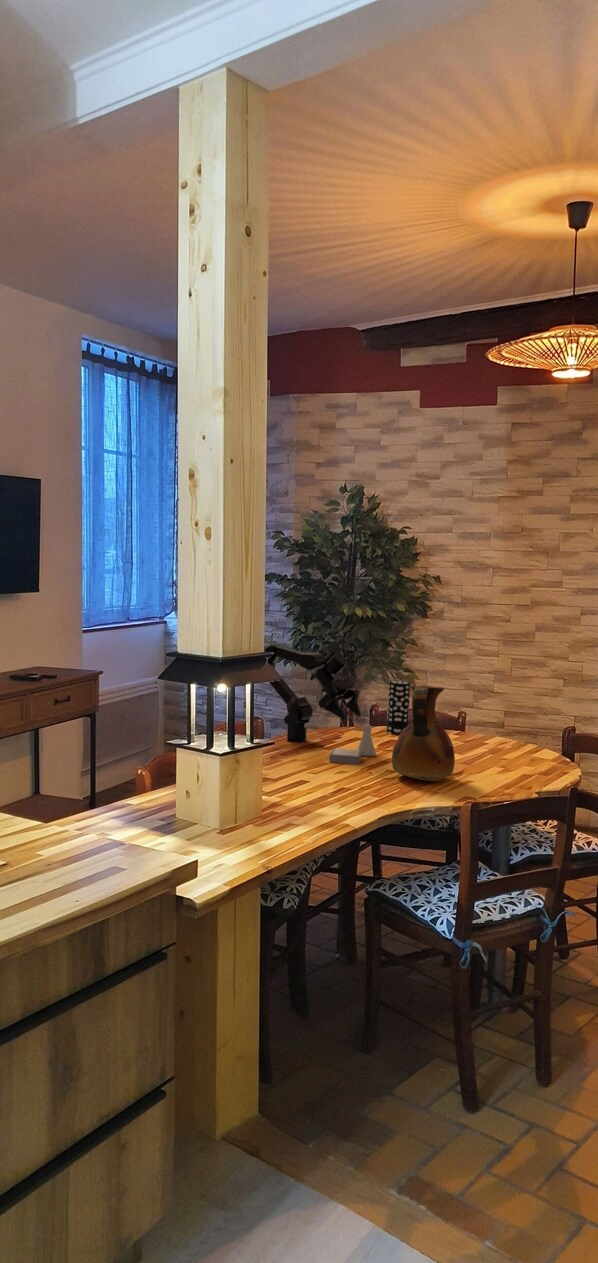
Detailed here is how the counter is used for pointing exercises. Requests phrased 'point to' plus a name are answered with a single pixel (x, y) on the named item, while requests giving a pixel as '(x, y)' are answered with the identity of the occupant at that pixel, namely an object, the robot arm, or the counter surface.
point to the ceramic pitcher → (424, 741)
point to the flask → (366, 742)
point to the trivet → (346, 756)
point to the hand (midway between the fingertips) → (352, 717)
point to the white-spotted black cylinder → (398, 706)
